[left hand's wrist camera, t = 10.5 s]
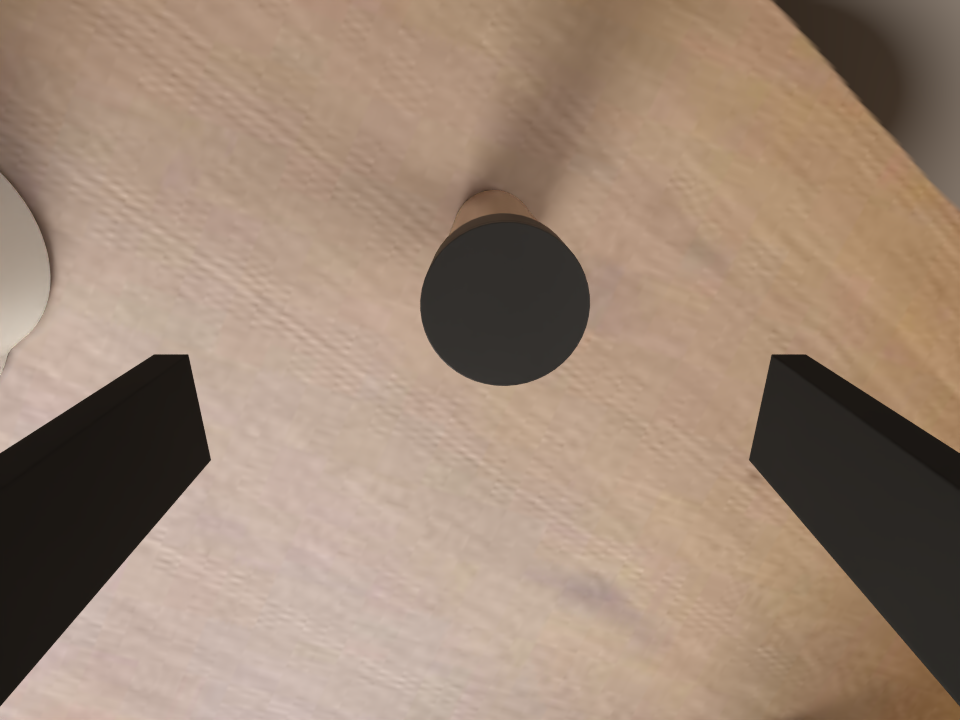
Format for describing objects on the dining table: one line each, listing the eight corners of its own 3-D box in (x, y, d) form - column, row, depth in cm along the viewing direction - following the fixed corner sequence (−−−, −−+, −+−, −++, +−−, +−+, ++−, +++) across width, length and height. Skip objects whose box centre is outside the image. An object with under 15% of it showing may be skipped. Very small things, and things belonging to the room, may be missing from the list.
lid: (557, 192, 18) (568, 198, 16) (591, 337, 20) (605, 362, 18) (406, 238, 19) (396, 251, 16) (453, 375, 21) (449, 404, 18)
